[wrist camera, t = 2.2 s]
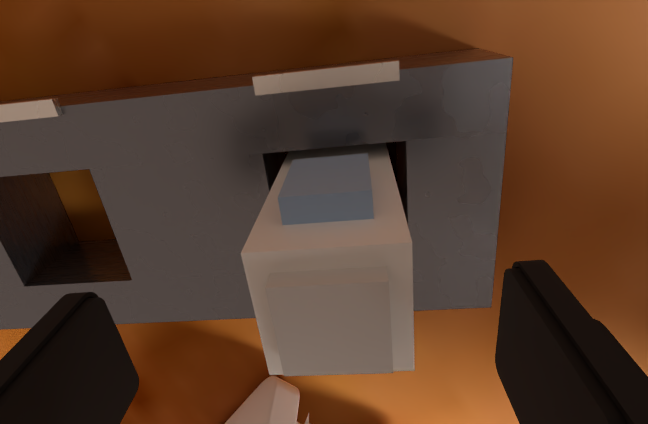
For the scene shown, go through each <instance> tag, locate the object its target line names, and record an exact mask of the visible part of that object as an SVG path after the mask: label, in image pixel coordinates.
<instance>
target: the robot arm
mask: <svg viewBox="0 0 648 424" xmlns="http://www.w3.org/2000/svg"><path fill="white" fill-rule="evenodd" d="M495 363H496V368H497V372H498V375H499V377H500V379H501V382H502V384H503V386H504V389H505V391H506V393H507V396H508V398H509V400H510V402H511V405H512V407H513V409H514V412H515V414H516V416H517V418H518V421H519V423H520V424H648V377H647V375H646V374H645V373H644V372H643V371H642V369H641V368H640V367H639V366H638V365H637V364H636V362H635V361H634V360H633V359H632V358H631V356H630V355H629V354H628V353H627V352H626V350H625V349H624V348H623V347H622V346H621V345H620V343H619V342H618V341H617V340H616V339H615V337H614V336H613V335H612V334H611V333H610V331H609V330H608V329H607V328H606V327H605V326H604V325H603V324H602V323H601V322H600V321H598V320H595V319H593V318H592V317H591V316H590V315H589V313H588V312H587V311H586V310H585V309H584V307H583V306H582V305H581V304H580V303H579V301H578V300H577V299H576V298H575V296H574V295H573V294H572V293H571V292H570V290H569V289H568V288H567V287H566V285H565V284H564V283H563V282H562V281H561V279H560V278H559V277H558V276H557V275H556V273H555V272H554V271H553V270H552V268H551V267H550V266H549V265H548V264H547V263H546V262H545V261H544V260H532V261H518V262H515V263H514V264H513V266H512V269H506V270H505V273H504V280H503V289H502V298H501V308H500V317H499V326H498V336H497V345H496V354H495ZM138 386H139V377H138V374H137V372H136V370H135V368H134V365H133V363H132V361H131V359H130V356H129V354H128V352H127V350H126V347H125V345H124V343H123V341H122V338H121V336H120V334H119V332H118V330H117V327H116V325H115V323H114V321H113V318H112V316H111V314H110V312H109V309H108V307H107V305H106V303H105V301H104V299H102V298H100V297H98V295H97V294H95V293H94V292H81V293H69V294H65V295H64V296H63V297H62V298H61V299H60V300H59V301H58V302H57V303H56V304H55V305H54V306H53V307H52V308H51V309H50V310H49V311H48V312H47V313H46V314H45V315H44V316H43V317H42V318H41V319H40V320H39V321H38V322H37V323H36V324H35V325H34V326H33V327H32V328H31V329H30V330H29V331H28V332H27V333H26V334H25V336H24V337H23V338H22V339H21V340H20V341H19V342H18V343H17V344H16V345H15V346H14V347H13V348H12V349H11V350H10V351H9V352H8V353H7V354H6V355H5V356H4V357H3V358H2V359H1V360H0V424H120V422H121V420H122V419H123V417H124V415H125V413H126V411H127V409H128V407H129V405H130V404H131V402H132V400H133V398H134V396H135V394H136V392H137V390H138Z"/></svg>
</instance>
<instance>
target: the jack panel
mask: <svg viewBox="0 0 648 424" xmlns="http://www.w3.org/2000/svg"><path fill="white" fill-rule="evenodd" d="M512 66H513V57H510V56H506V55H502V54H498V53H494V52H490V51H486V50H482V49H479V48H476V49H467V50H458V51H449V52H440V53H431V54H422V55H413V56H404V57H395V58H386V59H377V60H368V61H359V62H350V63H341V64H332V65H323V66H314V67H306V68H297V69H288V70H279V71H270V72H261V73H252V74H243V75H234V76H225V77H216V78H207V79H198V80H189V81H180V82H171V83H162V84H153V85H144V86H135V87H126V88H117V89H108V90H99V91H90V92H81V93H72V94H63V95H54V96H45V97H36V98H27V99H18V100H9V101H0V329H19V328H32V327H33V326H34V325H35V324H36V323H37V322H38V321H39V320H40V319H41V318H42V317H43V316H44V315H45V314H46V313H47V312H48V311H49V310H50V309H51V308H52V307H53V306H54V305H55V304H56V303H57V302H58V301H59V300H60V299H61V298H62V297H63V296H64V295H65V294H69V293H81V292H94V293H95V294H97V295H98V297H100V298H102V299H104V301H105V303H106V305H107V307H108V309H109V312H110V314H111V316H112V318H113V321H114V323H115V324H130V323H153V322H175V321H197V320H220V319H242V318H256V316H255V312H254V308H253V303H252V299H251V295H250V291H249V286H248V282H247V278H246V274H245V269H244V265H243V261H242V257H241V252H242V249H243V247H244V245H245V243H246V241H247V239H248V237H249V235H250V232H251V230H252V228H253V226H254V224H255V222H256V220H257V218H258V215H259V213H260V211H261V209H262V207H263V205H264V203H265V200H266V198H267V196H268V194H269V192H270V190H271V188H272V186H273V183H274V181H275V179H276V177H277V175H278V173H279V171H280V169H281V166H282V164H283V162H284V160H285V155H284V152H285V151H296V150H308V149H319V148H330V147H341V146H352V145H364V144H375V143H386V142H396V151H397V181H398V191H399V195H400V198H401V202H402V206H403V210H404V213H405V217H406V221H407V225H408V228H409V232H410V236H411V239H412V254H413V310H414V311H420V310H442V309H465V308H487V307H491V304H492V293H493V282H494V270H495V259H496V248H497V236H498V225H499V214H500V202H501V191H502V180H503V168H504V157H505V146H506V134H507V123H508V112H509V100H510V89H511V77H512ZM84 169H90V172H91V175H92V177H93V180H94V182H95V185H96V188H97V190H98V193H99V195H100V198H101V200H102V203H103V206H104V208H105V211H106V213H107V216H108V219H109V221H110V224H111V226H112V229H113V232H114V234H115V237H116V239H113V240H98V241H84V242H79V241H78V239H77V237H76V235H75V232H74V230H73V228H72V225H71V223H70V221H69V219H68V216H67V214H66V212H65V209H64V207H63V205H62V202H61V200H60V198H59V196H58V193H57V191H56V189H55V186H54V184H53V182H52V179H51V177H50V175H49V173H50V172H61V171H73V170H84Z"/></svg>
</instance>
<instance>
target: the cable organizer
mask: <svg viewBox="0 0 648 424" xmlns="http://www.w3.org/2000/svg"><path fill="white" fill-rule="evenodd" d="M299 399H300V393H299V389H298V388H297V387H295V386H293V385H292V384H290V383H288V382H286V381H284V380H282V379H280V378H278V377H276V376H270V377H268V378H266V379H265V380H264V381H263V382H262V383H261V384H260V385H259V386H258V387H257V388H256V389H255V390H254V391H253V393H252V394H251V395H250V396H249V397H248V398H247V399H246V400H245V401H244V402H243V404H242V405H241V406H240V407H239V408H238V409H237V410H236V411H235V412H234V414H233V415H232V416H231V417H230V418H229V419H228V420H227V421H226V422H225V424H300V423H298V422H296V421H297V414H298V407H299ZM305 424H310V423H309V413H308V416H307V419H306V421H305Z"/></svg>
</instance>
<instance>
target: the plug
mask: <svg viewBox="0 0 648 424" xmlns="http://www.w3.org/2000/svg"><path fill="white" fill-rule="evenodd" d="M241 257H242V261H243V265H244V269H245V274H246V278H247V282H248V286H249V291H250V295H251V299H252V303H253V308H254V312H255V316H256V320H257V325H258V329H259V333H260V337H261V342H262V346H263V350H264V354H265V359H266V363H267V367H268V371H269V375H284V376H309V375H343V374H377V373H393V371H415V367H414V310H413V254H412V239H411V236H410V232H409V228H408V225H407V221H406V217H405V213H404V210H403V206H402V202H401V198H400V195H399V191H398V187H397V183H396V180H395V176H394V172H393V168H392V165H391V161H390V157H389V153H388V150H387V146H386V143H375V144H364V145H352V146H341V147H330V148H319V149H308V150H296V151H289V152H288V154H287V156H286V158H285V160H284V162H283V164H282V166H281V169H280V171H279V173H278V175H277V177H276V179H275V181H274V183H273V186H272V188H271V190H270V192H269V194H268V196H267V198H266V200H265V203H264V205H263V207H262V209H261V211H260V213H259V215H258V218H257V220H256V222H255V224H254V226H253V228H252V230H251V232H250V235H249V237H248V239H247V241H246V243H245V245H244V247H243V249H242V252H241Z"/></svg>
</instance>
